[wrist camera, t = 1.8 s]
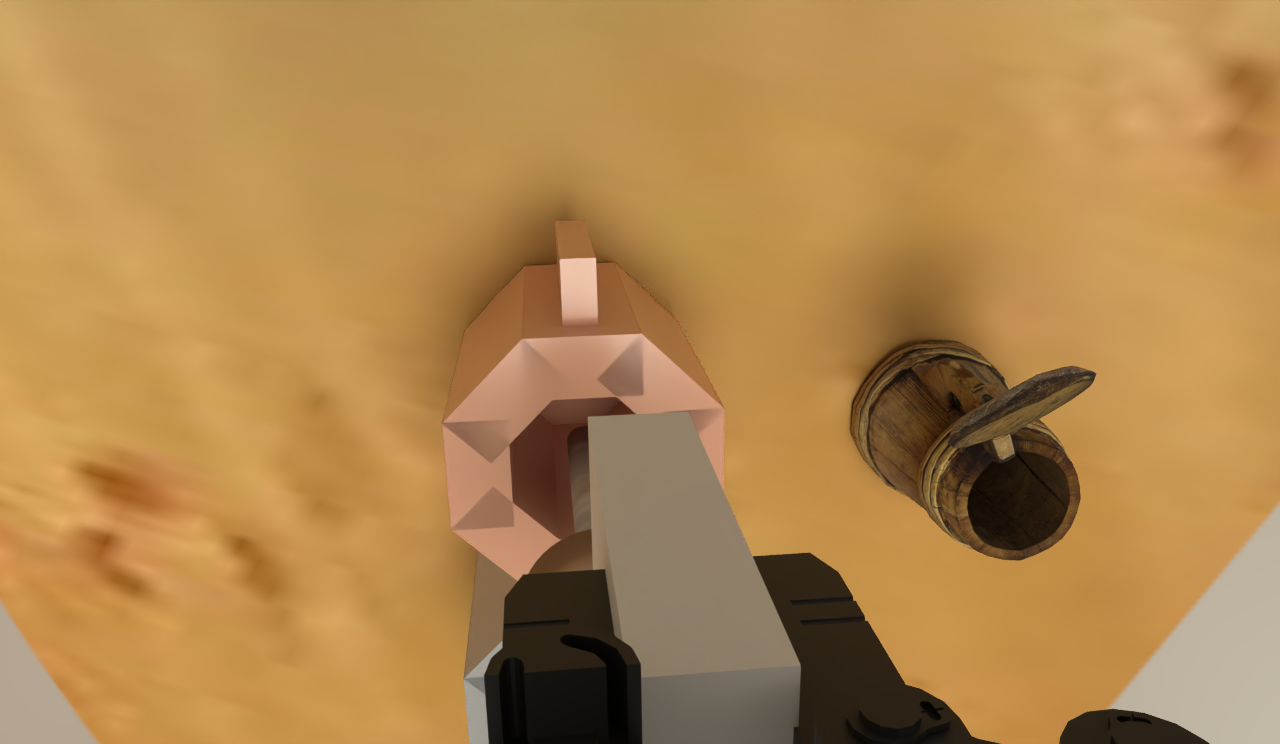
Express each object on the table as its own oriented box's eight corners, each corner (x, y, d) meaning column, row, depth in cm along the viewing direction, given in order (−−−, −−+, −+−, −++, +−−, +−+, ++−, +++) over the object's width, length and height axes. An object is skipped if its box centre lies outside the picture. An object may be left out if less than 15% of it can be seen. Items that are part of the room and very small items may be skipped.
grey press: (476, 473, 54) (457, 611, 41) (676, 462, 55) (722, 592, 42) (492, 687, 58) (480, 876, 45) (678, 673, 59) (720, 853, 46)
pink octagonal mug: (456, 213, 49) (428, 272, 36) (675, 205, 50) (726, 260, 37) (475, 465, 54) (457, 601, 40) (677, 454, 55) (722, 582, 41)
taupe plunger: (521, 388, 41) (513, 589, 26) (640, 382, 41) (704, 576, 26) (527, 498, 43) (524, 749, 27) (642, 491, 43) (703, 734, 28)
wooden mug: (957, 239, 53) (1161, 329, 35) (1022, 452, 57) (1232, 624, 40) (803, 305, 53) (931, 426, 36) (879, 513, 57) (1026, 709, 40)
